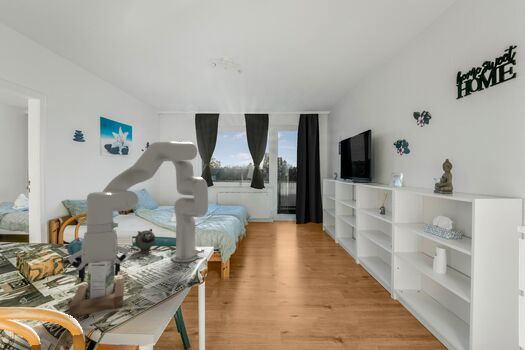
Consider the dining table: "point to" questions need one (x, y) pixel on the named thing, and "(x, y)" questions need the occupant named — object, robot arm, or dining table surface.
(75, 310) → the walnut collar
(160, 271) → the dining table surface
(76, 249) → the pencil case
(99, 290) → the syrup box
